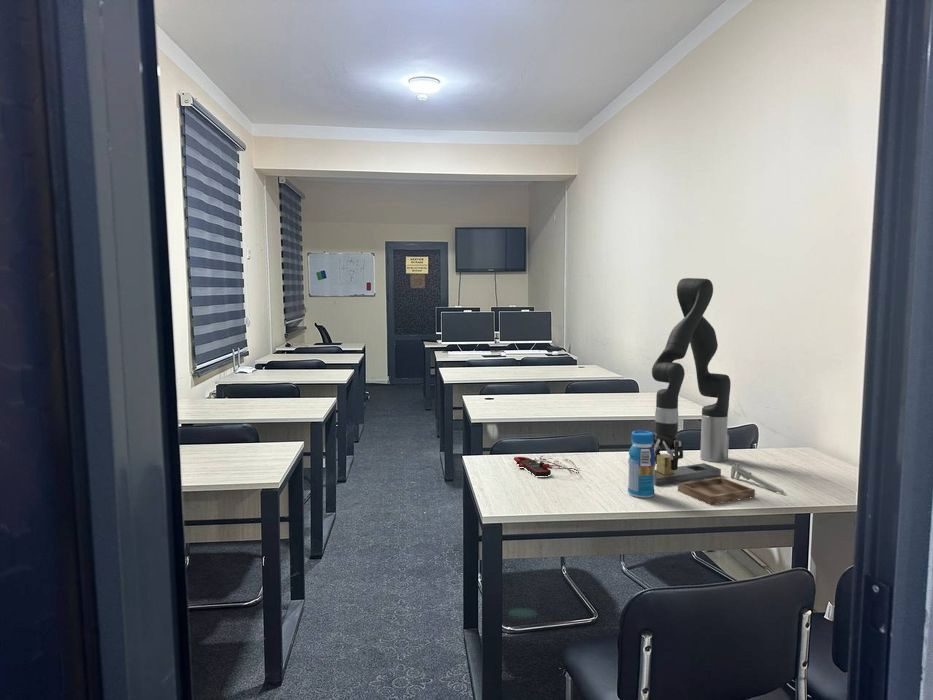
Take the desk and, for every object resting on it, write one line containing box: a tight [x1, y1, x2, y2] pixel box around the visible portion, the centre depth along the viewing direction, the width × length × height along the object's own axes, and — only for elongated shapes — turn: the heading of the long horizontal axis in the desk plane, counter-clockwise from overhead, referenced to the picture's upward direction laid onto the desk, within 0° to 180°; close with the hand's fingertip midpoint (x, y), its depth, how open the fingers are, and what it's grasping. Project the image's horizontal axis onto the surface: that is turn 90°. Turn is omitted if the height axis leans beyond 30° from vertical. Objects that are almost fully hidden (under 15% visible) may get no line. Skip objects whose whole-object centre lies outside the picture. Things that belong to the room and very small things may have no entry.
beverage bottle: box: [627, 430, 657, 499], centre depth 191 cm, size 8×8×20 cm
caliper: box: [730, 461, 787, 495], centre depth 199 cm, size 20×1×6 cm, turn 27°
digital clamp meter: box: [513, 455, 580, 477], centre depth 220 cm, size 23×4×25 cm
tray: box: [677, 476, 756, 505], centre depth 191 cm, size 18×14×2 cm
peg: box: [655, 453, 674, 476], centre depth 206 cm, size 4×4×8 cm
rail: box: [654, 462, 722, 487], centre depth 209 cm, size 28×8×2 cm, turn 112°
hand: (665, 466), depth 206 cm, fingers open, 8 cm apart
